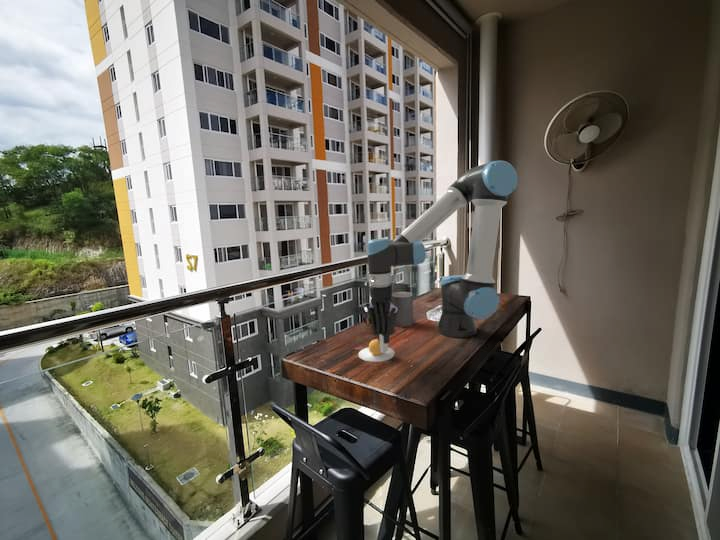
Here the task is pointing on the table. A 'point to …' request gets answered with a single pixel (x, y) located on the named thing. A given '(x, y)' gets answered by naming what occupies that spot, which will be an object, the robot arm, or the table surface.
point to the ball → (375, 347)
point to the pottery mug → (367, 323)
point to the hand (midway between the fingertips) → (384, 351)
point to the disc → (370, 357)
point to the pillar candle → (403, 308)
